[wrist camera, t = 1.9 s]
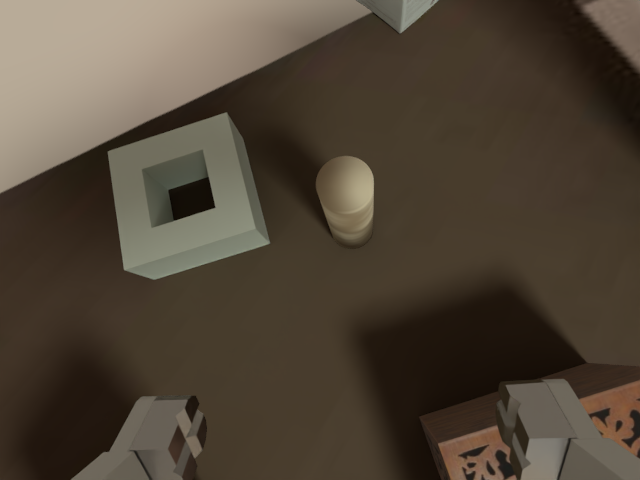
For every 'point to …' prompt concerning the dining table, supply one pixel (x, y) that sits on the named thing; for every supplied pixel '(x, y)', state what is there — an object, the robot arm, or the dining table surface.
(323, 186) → the peg
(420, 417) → the tissue box cover
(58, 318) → the dining table surface
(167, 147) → the socket block
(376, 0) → the supplement box
